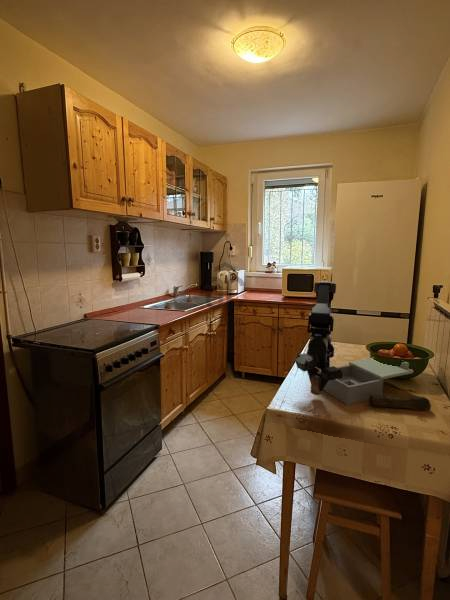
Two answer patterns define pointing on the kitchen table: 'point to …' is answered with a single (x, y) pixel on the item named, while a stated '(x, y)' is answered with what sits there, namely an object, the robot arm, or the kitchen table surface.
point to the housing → (354, 385)
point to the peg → (315, 385)
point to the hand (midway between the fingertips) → (316, 388)
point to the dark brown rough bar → (401, 402)
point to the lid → (381, 368)
